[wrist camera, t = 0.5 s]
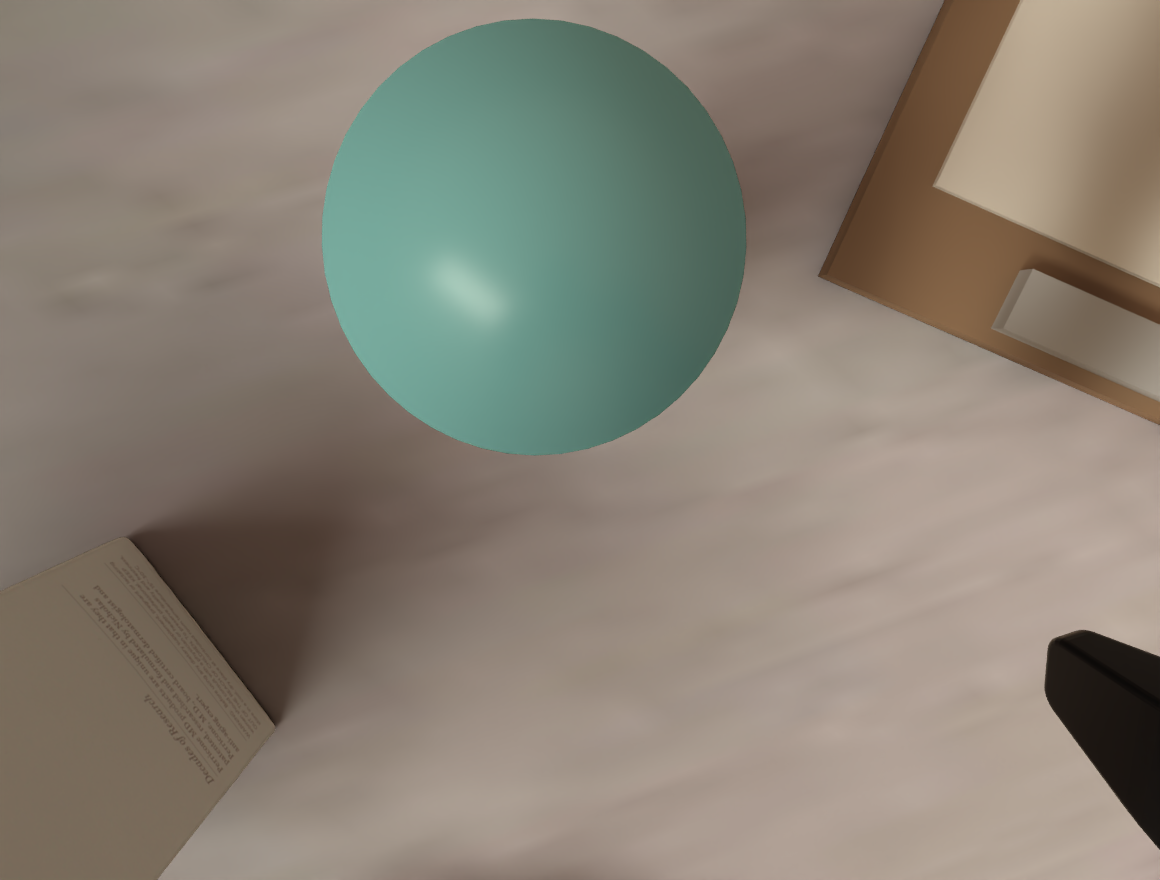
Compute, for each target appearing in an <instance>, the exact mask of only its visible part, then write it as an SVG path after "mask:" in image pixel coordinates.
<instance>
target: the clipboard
mask: <svg viewBox="0 0 1160 880" xmlns="http://www.w3.org/2000/svg"><path fill="white" fill-rule="evenodd" d="M818 277H821V278H823V279H825V280H828V281H830V282H832V283H834V284H837V285H839V286H841V287H844V288H846V289H848V290H851V291H853V292H855V293H857V294H860V295H862V296H864V297H867V298H869V299H871V300H874V301H876V302H878V303H880V304H883V305H885V306H887V307H890V308H892V309H894V310H897V311H899V312H901V313H903V314H906V315H908V316H910V317H913V318H915V319H917V320H920V321H922V322H924V323H926V324H929V325H931V326H933V327H936V328H938V329H940V330H943V331H945V332H947V333H949V334H952V335H954V336H956V337H959V338H961V339H963V340H965V341H968V342H970V343H972V344H975V345H977V346H979V347H982V348H984V349H986V350H988V351H991V352H993V353H995V354H998V355H1000V356H1002V357H1005V358H1007V359H1009V360H1011V361H1014V362H1016V363H1018V364H1021V365H1023V366H1025V367H1028V368H1030V369H1032V370H1034V371H1037V372H1039V373H1041V374H1044V375H1046V376H1048V377H1051V378H1053V379H1055V380H1057V381H1060V382H1062V383H1064V384H1067V385H1069V386H1071V387H1074V388H1076V389H1078V390H1080V391H1083V392H1085V393H1087V394H1090V395H1092V396H1094V397H1097V398H1099V399H1101V400H1103V401H1106V402H1108V403H1110V404H1113V405H1115V406H1117V407H1120V408H1122V409H1124V410H1126V411H1129V412H1131V413H1133V414H1136V415H1138V416H1140V417H1143V418H1145V419H1147V420H1149V421H1152V422H1154V423H1156V424H1159V425H1160V0H945V1H944V3H943V5H942V8H941V10H940V12H939V14H938V16H937V18H936V21H935V23H934V25H933V27H932V29H931V32H930V34H929V36H928V38H927V40H926V42H925V45H924V47H923V49H922V51H921V53H920V55H919V58H918V60H917V62H916V64H915V66H914V69H913V71H912V73H911V75H910V77H909V79H908V82H907V84H906V86H905V88H904V90H903V93H902V95H901V97H900V99H899V101H898V103H897V106H896V108H895V110H894V112H893V114H892V116H891V119H890V121H889V123H888V125H887V127H886V130H885V132H884V134H883V136H882V138H881V140H880V143H879V145H878V147H877V149H876V151H875V154H874V156H873V158H872V160H871V162H870V164H869V167H868V169H867V171H866V173H865V175H864V177H863V180H862V182H861V184H860V186H859V188H858V191H857V193H856V195H855V197H854V199H853V201H852V204H851V206H850V208H849V210H848V212H847V215H846V217H845V219H844V221H843V223H842V225H841V228H840V230H839V232H838V234H837V236H836V239H835V241H834V243H833V245H832V247H831V249H830V252H829V254H828V256H827V258H826V260H825V262H824V265H823V267H822V269H821V271H820V273H819V276H818Z"/></svg>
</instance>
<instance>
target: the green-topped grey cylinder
mask: <svg viewBox="0 0 1160 880" xmlns="http://www.w3.org/2000/svg"><path fill="white" fill-rule="evenodd" d="M322 250H323V259H324V269H325V276H326V280H327V284H328V288H329V292H330V297H331V301H332V304H333V306H334V309H335V312H336V314H337V317H338V320H339V322H340V325H341V327H342V329H343V331H344V333H345V335H346V337H347V339H348V341H349V343H350V345H351V346H352V348H353V350H354V352H355V353H356V355H357V356H358V358H359V359H360V361H361V362H362V364H363V365H364V366H365V368H366V369H367V371H368V372H369V374H370V375H371V376H372V377H373V378H374V379H375V380H376V382H377V383H378V384H379V385H380V386H381V387H382V388H383V389H384V390H385V391H386V393H387V394H388V395H389V396H390V397H392V398H393V399H394V400H395V401H396V402H397V403H399V404H400V405H401V406H402V407H403V408H404V409H406V410H407V411H408V412H409V413H411V414H412V415H414V416H415V417H417V418H418V419H420V420H421V421H423V422H424V423H426V424H427V425H429V426H430V427H432V428H434V429H436V430H438V431H440V432H442V433H444V434H446V435H448V436H450V437H452V438H454V439H456V440H459V441H462V442H465V443H468V444H471V445H474V446H477V447H480V448H483V449H488V450H493V451H498V452H503V453H508V454H522V455H550V454H563V453H568V452H573V451H579V450H584V449H588V448H591V447H594V446H597V445H601V444H604V443H607V442H610V441H613V440H615V439H617V438H619V437H621V436H623V435H625V434H627V433H629V432H631V431H634V430H636V429H637V428H639V427H641V426H642V425H644V424H645V423H647V422H648V421H650V420H651V419H653V418H654V417H656V416H658V415H659V414H660V413H662V412H663V411H664V410H665V409H666V408H667V407H669V406H670V405H671V404H672V403H673V402H674V401H676V400H677V399H678V398H679V397H680V396H681V395H682V394H683V393H684V392H685V391H686V390H687V389H688V388H689V386H690V385H691V384H692V383H693V382H694V381H695V380H696V379H697V378H698V377H699V375H700V374H701V372H702V371H703V369H704V368H705V367H706V365H707V364H708V362H709V361H710V359H711V358H712V357H713V355H714V354H715V352H716V350H717V348H718V346H719V344H720V342H721V340H722V338H723V336H724V335H725V333H726V331H727V329H728V326H729V323H730V321H731V318H732V315H733V312H734V310H735V307H736V304H737V301H738V297H739V292H740V288H741V284H742V279H743V275H744V265H745V255H746V218H745V212H744V205H743V199H742V192H741V188H740V184H739V181H738V178H737V174H736V171H735V167H734V164H733V161H732V159H731V156H730V154H729V152H728V150H727V147H726V145H725V143H724V140H723V138H722V136H721V134H720V132H719V131H718V129H717V127H716V126H715V124H714V123H713V121H712V119H711V118H710V116H709V114H708V113H707V111H706V110H705V108H704V107H703V106H702V105H701V103H700V102H699V101H698V100H697V98H696V97H695V96H694V95H693V93H692V92H691V91H690V90H689V88H688V87H687V86H686V85H685V84H684V83H682V82H681V81H680V80H679V79H678V78H677V77H676V76H675V75H674V74H673V73H672V72H671V71H670V70H669V69H668V68H667V67H665V66H664V65H663V64H661V63H660V62H658V61H657V60H656V59H654V58H653V57H651V56H650V55H649V54H647V53H646V52H644V51H643V50H641V49H639V48H638V47H636V46H634V45H632V44H630V43H628V42H626V41H624V40H622V39H621V38H619V37H617V36H614V35H611V34H608V33H606V32H603V31H600V30H597V29H595V28H592V27H589V26H584V25H579V24H575V23H570V22H565V21H559V20H544V19H521V20H506V21H500V22H495V23H490V24H486V25H481V26H476V27H473V28H471V29H468V30H465V31H462V32H460V33H457V34H454V35H451V36H449V37H447V38H445V39H443V40H441V41H439V42H437V43H435V44H433V45H432V46H430V47H428V48H426V49H424V50H422V51H421V52H420V53H418V54H417V55H415V56H414V57H413V58H411V59H410V60H409V61H407V62H406V63H404V64H403V65H402V66H400V67H399V68H398V69H397V70H396V71H395V72H394V73H393V74H392V75H391V76H390V77H389V78H388V79H387V80H385V81H384V82H383V83H382V84H381V85H380V86H379V87H378V88H377V90H376V91H375V92H374V94H373V95H372V96H371V97H370V99H369V100H368V101H367V102H366V104H365V105H364V106H363V107H362V109H361V110H360V112H359V113H358V115H357V117H356V118H355V120H354V122H353V123H352V125H351V127H350V128H349V130H348V132H347V133H346V135H345V138H344V140H343V142H342V145H341V147H340V149H339V152H338V154H337V156H336V159H335V161H334V164H333V168H332V172H331V175H330V179H329V182H328V186H327V190H326V197H325V203H324V210H323V218H322Z"/></svg>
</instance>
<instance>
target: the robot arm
mask: <svg viewBox="0 0 1160 880" xmlns="http://www.w3.org/2000/svg"><path fill="white" fill-rule="evenodd" d="M1045 693H1046V697H1047V700H1048V702H1049V704H1050V706H1051V708H1052V709H1053V711H1054V712H1055V713H1056V715H1057V716H1058V717H1059V719H1060V720H1061V721H1062V723H1063V724H1064V726H1065V727H1066V728H1067V730H1068V731H1069V732H1070V734H1071V735H1072V736H1073V738H1074V739H1075V740H1076V742H1077V743H1078V744H1079V746H1080V747H1081V749H1082V750H1083V751H1084V753H1085V754H1086V755H1087V757H1088V758H1089V759H1090V761H1091V762H1092V763H1093V765H1094V766H1095V768H1096V769H1097V770H1098V772H1099V773H1100V774H1101V776H1102V777H1103V778H1104V780H1105V781H1106V782H1107V784H1108V785H1109V786H1110V788H1111V789H1112V791H1113V792H1114V793H1115V795H1116V796H1117V797H1118V799H1119V800H1120V801H1121V803H1122V804H1123V805H1124V807H1125V808H1126V809H1127V811H1128V812H1129V813H1130V814H1131V816H1132V817H1133V818H1134V820H1135V821H1136V822H1137V823H1138V825H1139V826H1140V827H1141V828H1142V829H1143V831H1144V832H1145V833H1146V834H1147V835H1148V837H1149V838H1150V839H1151V840H1152V841H1153V842H1154V844H1155V845H1156V846H1157V847H1158V848H1159V849H1160V657H1159V656H1157V655H1154V654H1151V653H1149V652H1146V651H1143V650H1140V649H1138V648H1135V647H1132V646H1130V645H1127V644H1124V643H1122V642H1119V641H1116V640H1114V639H1111V638H1108V637H1106V636H1103V635H1100V634H1098V633H1095V632H1092V631H1087V630H1078V631H1074V632H1071V633H1068V634H1065V635H1062V636H1059V637H1056V638H1054V639H1052V641H1051V642H1050V643H1049V645H1048V651H1047V662H1046V674H1045Z"/></svg>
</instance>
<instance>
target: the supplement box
mask: <svg viewBox="0 0 1160 880" xmlns="http://www.w3.org/2000/svg"><path fill="white" fill-rule="evenodd" d="M274 732H275V725H274V724H273V722H272V721H271V720H270V718H269V717H268V715H267V714H266V713H265V711H264V710H263V709H262V708H261V706H260V705H259V704H258V702H257V701H256V700H255V698H254V697H253V695H252V694H251V693H250V692H249V691H248V689H247V688H246V687H245V685H244V684H243V683H242V681H241V680H240V679H239V678H238V676H237V675H236V674H235V672H234V671H233V670H232V669H231V668H230V666H229V665H228V663H227V662H226V661H225V659H224V658H223V656H222V655H221V654H220V653H219V651H218V650H217V649H216V648H215V646H214V645H213V644H212V643H211V642H210V640H209V639H208V638H207V636H206V635H205V634H204V632H203V631H202V630H201V628H200V627H199V626H198V624H197V623H196V621H195V620H194V619H193V618H192V617H191V615H190V614H189V613H188V611H187V610H186V609H185V608H184V606H183V605H182V604H181V603H180V601H179V600H178V599H177V597H176V596H175V595H174V593H173V592H172V591H171V590H170V588H169V587H168V586H167V585H166V583H165V582H164V581H163V580H162V578H161V577H160V576H159V575H158V573H157V572H156V571H155V569H154V568H153V566H152V565H151V564H150V563H149V562H148V560H147V559H146V558H145V556H144V555H143V554H142V553H141V552H140V551H139V550H138V549H137V547H136V546H135V545H134V544H133V543H132V542H131V541H130V540H129V539H128V538H125V537H120V538H117V539H115V540H112V541H110V542H108V543H105V544H103V545H101V546H99V547H97V548H94V549H92V550H90V551H88V552H85V553H83V554H81V555H79V556H76V557H74V558H72V559H70V560H68V561H66V562H63V563H61V564H59V565H56V566H54V567H52V568H50V569H48V570H45V571H43V572H41V573H39V574H37V575H35V576H33V577H31V578H29V579H26V580H24V581H22V582H20V583H18V584H15V585H13V586H11V587H9V588H7V589H4V590H2V591H0V880H157V879H158V878H159V877H160V875H161V874H162V873H163V871H164V870H165V869H166V868H167V866H168V865H169V864H170V863H171V861H172V860H173V859H174V857H175V856H176V855H177V854H178V852H179V851H180V850H181V849H182V847H183V846H184V845H185V844H186V842H187V841H188V840H189V838H190V837H191V836H192V835H193V833H194V832H195V831H196V830H197V828H198V827H199V826H200V824H201V823H202V822H203V821H204V819H205V818H206V817H207V816H208V814H209V813H210V812H211V810H212V809H213V808H214V807H215V805H216V804H217V803H218V802H219V800H220V799H221V798H222V797H223V795H224V794H225V793H226V791H227V790H228V789H229V788H230V786H231V785H232V784H233V783H234V782H235V780H236V779H237V778H238V777H239V775H240V774H241V773H242V771H243V770H244V769H245V768H246V766H247V765H248V764H249V762H250V761H251V760H252V758H253V757H254V756H255V755H256V753H257V752H258V751H259V750H260V748H261V747H262V746H263V745H264V743H265V742H266V741H267V739H268V738H269V737H270V736H271V735H272V734H273V733H274Z"/></svg>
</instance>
